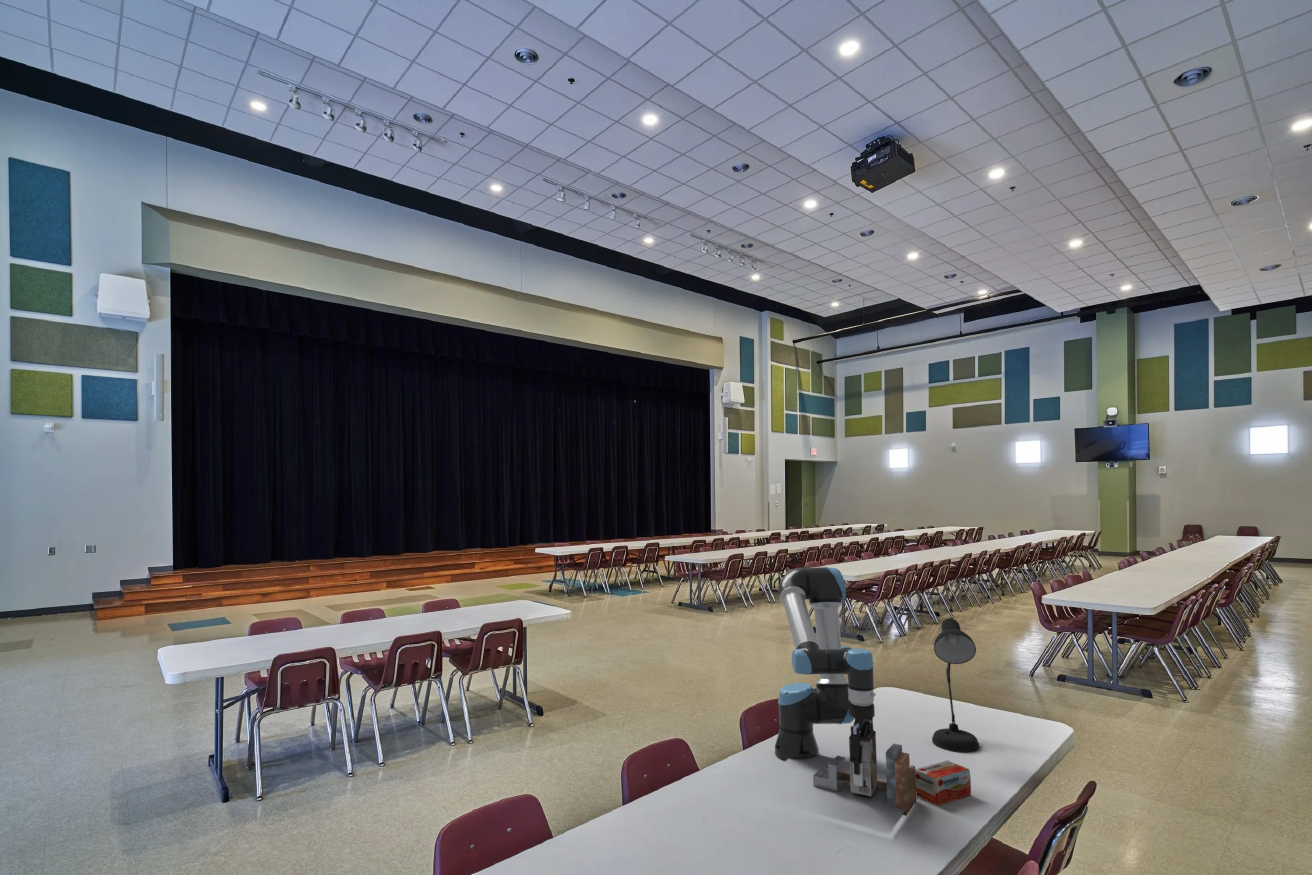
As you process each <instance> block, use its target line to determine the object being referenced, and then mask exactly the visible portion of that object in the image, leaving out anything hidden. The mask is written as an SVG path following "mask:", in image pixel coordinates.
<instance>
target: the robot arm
mask: <svg viewBox="0 0 1312 875" xmlns="http://www.w3.org/2000/svg"><path fill="white" fill-rule="evenodd" d="M777 592H778V599H779V601H780V604H781V605H782V606H784V610H785V611H784V612H785V614H786V618H787V621H788V624H789V625H788V626H789V629H790V633H791V637H792V641H793V643H794V646H795V649H794V650H792V652H791V664H792V669H793V671H794V672H793V673H795V674H798V675H819V678H818V680H817V681H816V682H815V688H814V687H812V685H811V684H809V683H805V682H804V683H803V682H794V683H788V684H785V685H784V686H782V687H781V688H780V689H779V691H778V701H777V703H778V718H779V720H778V721H779V723H778V724H779V726H778V727H779V730H778V734H777V738H776V742H775V744H774V754H775V756H776V757H777V758H778V759H780V760H784V761H788V760H789V759H792V760H809V759H813V758H815V757H817V756H820V752H819V750H820V749H819V746H818V743H817V739H816V737H815V733H814V725H843V724H851V723H853V725H851V726H850V735H851V746H850V751H849V763H850V762H853V784H854V785H858V786H862V787H863V763H862V762H861V760H862V746H860V738H865V737H866V733H867V732H869V733H870V732H871V730H872V731H875V730H874V717H875V716H876V714H875V713H876V712H875V704H874V702H875V697H876V693H875V692H874V691H875V690H874V689H875V688H874V659H873V654H872V652H871V651H870V650H869V649H864V648H859V647H858V648H857V647H856V648H852V647H850V646H842V636H841V626H840V625H841V624H840V616H839V608H840V607H841V606H842V605H843V600H845V599H846V596H847V587H846V582H845V578H844V576H843V573H842V572H841V571H840V570H839V569H838V568H836V567H828V566H827V567H826V566H825V567H824V566H823V567H822V566H821V567H820V566H819V567H796V568H793V569H791V570H789V571H787V572H786V573H785V574H784V576H783V577H782V578H781V580H780V582H779V585H778V589H777ZM806 600H808V601H809V602H808V604H809V606H810V607H811V608H812V609H813V611H814V623H815V630H814V626H813V624H812V620H811V616H810V614H809V610H808V608H807V607H808V606H807V604H806ZM845 675H847V679H846V678H845ZM853 721H854V722H853ZM860 735H862V736H860Z"/></svg>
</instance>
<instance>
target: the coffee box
mask: <svg viewBox="0 0 1312 875" xmlns="http://www.w3.org/2000/svg"><path fill="white" fill-rule="evenodd" d="M860 736H862V735H860ZM876 736H877V731H876V730H874V731H872V730H871V732H870V733H869V732H867V733H866V737H865V738H860V746H862V760H861V762H862V763H863V787H862V786H858V785H854V784H853V762H850V761H849V773H850V793H853V794H858V795H863V796H868V797H873V795H874V793H875V791H876V789H877V788H876V787H877V780H878V762H877V737H876ZM848 741H849V742H848V745H849V746H848V747H849V750H848V751H849V752H850V746H851V734H850V735H849V737H848Z"/></svg>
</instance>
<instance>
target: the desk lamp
mask: <svg viewBox="0 0 1312 875" xmlns="http://www.w3.org/2000/svg"><path fill="white" fill-rule="evenodd" d="M940 626H941V632H940V633H939V634H937V636H936V637H935V639H934V642H933V651H934V654H935V655H936V657H937V658H938V659H939V660H940V661H942V662H945V663H947V667H946V669H945V671H946V673H945V674H946V680H947V684H948V686H947V687H948V693H949V701H950V702H949V703H950V712H951V723H949V724H948V727H947V728H940V729H937V730H936V731H934V733H933V736H932V737H931V741H932V744H933V745H934V746H936V747H938V748H940V749H943V750H947V751H949V752H956V753H972V752H976V751H978V750H979V749H980V743H979V741H978V739H977V738H978V737H976V735H974V734H973V733H971V732H968V731H966V730H963V729H959V725H958V724H957V723H956V719H955V718H956V717H955V710H954V706H953V705H954V704H953V695H952V688H951V687H952V686H951V665H959V664H960V665H961V664H965V663H968V662H970V661H971V660H972V659H973V658H974V657H975V656H976V653H977V647H976V645H975V642H974V640H973V639H972V637H971V636H970V635H969V634H967V633H966V632H964V631H963V630H961V626H960V623H959V622H958V620H956V619H954V618H951V617H950V618H946V619H944V620H943V621H942V623H941V625H940Z"/></svg>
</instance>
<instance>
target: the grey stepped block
mask: <svg viewBox="0 0 1312 875" xmlns="http://www.w3.org/2000/svg"><path fill="white" fill-rule="evenodd" d="M827 765H828V767H826V766H821V767H822V768H821V767H820V769H819V770H817V771H816V772H815V773H814V774H813V775H812V783H813V787H817V788H821V789H825V790H828V791H829V790H830V791H833V792H836V793H837V792H838V791H840V789H841V788H842V787H843V786H844V785H845V784H846V783H847V781H846V772H847V771H846V770H847V769H846V768H847V767H846V765H847V764H846V757H845V756H841V755H836V757H834V758H833V759H832V760H831V761H830V762H829V763H828V764H827Z"/></svg>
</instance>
